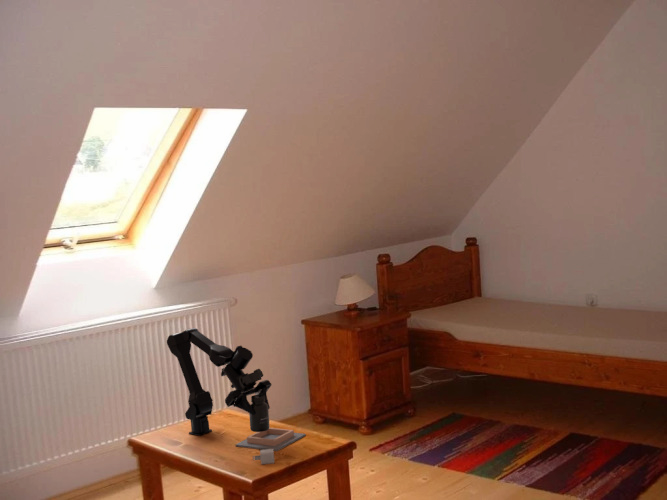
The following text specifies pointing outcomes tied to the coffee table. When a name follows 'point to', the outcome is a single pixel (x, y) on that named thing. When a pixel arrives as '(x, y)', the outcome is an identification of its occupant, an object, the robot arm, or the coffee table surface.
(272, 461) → the usb wall charger
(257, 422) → the supplement bottle
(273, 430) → the dock tray
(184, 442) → the coffee table surface
